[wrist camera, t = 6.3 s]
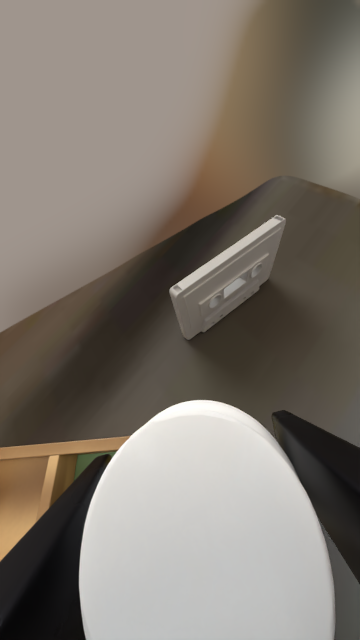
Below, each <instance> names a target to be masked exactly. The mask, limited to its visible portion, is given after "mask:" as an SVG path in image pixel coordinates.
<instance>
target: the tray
mask: <svg viewBox="0 0 360 640" xmlns="http://www.w3.org/2000/svg"><path fill="white" fill-rule="evenodd" d="M130 437H131V436H126V437H115V438H104V439H93V440H81V441H70V442H59V443H48V444H37V445H26V446H15V447H4V448H0V561H1V560H2V559H3V558H4V557H5V556H6V555H7V553H8V552H9V551H10V550H11V549H12V548H13V547H14V546H15V545H16V544H17V543H18V541H19V540H20V539H21V538H22V537H23V536H24V535H25V534H26V533H27V532H28V531H29V529H30V528H31V527H32V526H33V525H34V524H35V523H36V522H37V521H38V520H39V519H40V517H41V516H42V515H43V514H44V513H45V512H46V511H47V510H48V509H49V508H50V507H51V506H52V504H53V503H54V502H55V501H56V500H57V499H58V498H59V497H60V496H61V495H62V494H63V492H64V491H65V490H66V489H67V488H68V487H69V486H70V485H71V484H72V483H73V482H74V480H75V479H76V478H77V477H78V476H79V475H80V474H81V473H82V472H83V471H84V470H85V468H86V467H87V466H88V465H89V464H90V463H91V462H92V461H93V460H94V459H95V458H96V457H97V456H100V455H104V454H110V455H111V457H112V458H113V456H114V455H115V454H116V452H117V451H118V450H119V448H120V447H121V446H122V445H123V444H124V443H125V442H126V441H127V440H128V439H129V438H130Z"/></svg>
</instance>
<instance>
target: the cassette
mask: <svg viewBox="0 0 360 640" xmlns="http://www.w3.org/2000/svg"><path fill="white" fill-rule="evenodd" d="M285 223H286V219H285V218H282V217H280V216H278V215H276V216H275V217H273V218H272V219H270V220H269V221H267V222H266V223H265V224H263V225H262V226H260V227H259V228H257V229H256V230H254V231H253V232H251V233H250V234H249V235H247V236H246V237H244V238H243V239H241V240H240V241H238V242H237V243H235V244H234V245H233V246H231V247H230V248H228V249H227V250H225V251H224V252H222V253H221V254H219V255H218V256H217V257H215V258H214V259H212V260H211V261H209V262H208V263H206V264H205V265H203V266H202V267H201V268H199V269H198V270H196V271H195V272H193V273H192V274H190V275H189V276H187V277H186V278H185V279H183V280H182V281H180V282H179V283H177V284H176V285H174V286H173V287H171V289H170V296H171V299H172V302H173V305H174V309H175V312H176V315H177V318H178V322H179V325H180V328H181V331H182V334H183V336H184V338H185V339H187V340H190V339H191V338H192V337H194V336H195V335H196V334H198V333H199V332H201V331H202V332H205V331H207V330H208V329H209V328H210V327H212V326H213V325H214V324H216V323H217V322H218V321H219V320H221V319H222V318H223V317H225V316H226V315H227V314H228V313H230V312H231V311H232V310H234V309H235V308H236V307H238V306H239V305H240V304H241V303H243V302H244V301H245V300H247V299H248V298H249V297H250V296H252V295H253V294H254V293H256V292H257V291H258V290H259V286H260V285H261V284H263V283H264V282H265V281H266V280H268V278H269V276H270V272H271V269H272V266H273V262H274V259H275V256H276V252H277V249H278V246H279V243H280V239H281V236H282V233H283V229H284V226H285Z"/></svg>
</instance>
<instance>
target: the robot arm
mask: <svg viewBox="0 0 360 640" xmlns="http://www.w3.org/2000/svg"><path fill="white" fill-rule="evenodd" d="M272 421H273V427H274V432H275V436H276V439H277V442H278V444H279V445H280V446H281V448H282V449H283V451H284V452H285V453H286V455H287V456H288V458H289V460H290V462H291V463H292V465H293V467H294V469H295V471H296V473H297V475H298V478H299V480H300V482H301V484H302V486H303V487H304V489H305V491H306V492H307V495H308V497H309V499H310V501H311V503H312V506H313V508H314V510H315V512H316V515H317V516H318V518H319V519H320V521H321V523H322V524H323V526H324V527H325V529H326V531H327V532H328V534H329V535H330V537H331V539H332V540H333V542H334V543H335V545H336V547H337V548H338V550H339V552H340V553H341V555H342V556H343V558H344V560H345V561H346V563H347V564H348V566H349V568H350V569H351V571H352V572H353V574H354V576H355V577H356V579H357V580H358V582H359V584H360V448H359V447H357V446H355V445H353V444H351V443H349V442H347V441H345V440H343V439H341V438H339V437H337V436H335V435H333V434H331V433H329V432H327V431H325V430H323V429H321V428H319V427H317V426H315V425H313V424H311V423H309V422H307V421H305V420H303V419H301V418H299V417H297V416H295V415H293V414H291V413H289V412H287V411H285V410H281V411H277V412H274V413H272ZM111 459H112V457H111V455H110V454H104V455H100V456H97V457H96V458H95V459H94V460H93V461H92V462H91V463H90V464H89V465H88V466H87V467H86V468H85V470H84V471H83V472H82V473H81V474H80V475H79V476H78V477H77V478H76V479H75V480H74V482H73V483H72V484H71V485H70V486H69V487H68V488H67V489H66V490H65V491H64V492H63V494H62V495H61V496H60V497H59V498H58V499H57V500H56V501H55V502H54V503H53V504H52V506H51V507H50V508H49V509H48V510H47V511H46V512H45V513H44V514H43V515H42V516H41V517H40V519H39V520H38V521H37V522H36V523H35V524H34V525H33V526H32V527H31V528H30V529H29V531H28V532H27V533H26V534H25V535H24V536H23V537H22V538H21V539H20V540H19V541H18V543H17V544H16V545H15V546H14V547H13V548H12V549H11V550H10V551H9V552H8V553H7V555H6V556H5V557H4V558H3V559H2V560H1V561H0V640H86V637H85V633H84V627H83V620H82V613H81V604H80V592H79V568H80V553H81V545H82V538H83V531H84V525H85V521H86V517H87V513H88V510H89V506H90V503H91V500H92V497H93V495H94V493H95V490H96V488H97V485H98V483H99V481H100V479H101V476H102V474H103V473H104V471H105V469H106V467H107V465H108V464H109V462H110V461H111Z"/></svg>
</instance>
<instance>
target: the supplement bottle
mask: <svg viewBox="0 0 360 640" xmlns="http://www.w3.org/2000/svg"><path fill="white" fill-rule="evenodd" d="M79 592H80V604H81V613H82V620H83V627H84V633H85V637H86V640H334V638H335V624H336V608H335V592H334V581H333V575H332V569H331V563H330V558H329V554H328V549H327V545H326V541H325V538H324V535H323V532H322V529H321V526H320V523H319V520H318V518H317V515H316V512H315V510H314V508H313V506H312V503H311V501H310V499H309V497H308V495H307V492H306V491H305V489H304V487H303V486H302V484H301V482H300V480H299V478H298V475H297V473H296V471H295V469H294V467H293V465H292V463H291V462H290V460H289V458H288V456H287V455H286V453H285V452H284V451H283V449H282V448H281V446H280V445H279V444H278V442H277V441H276V440H275V438H274V437H273V436H272V435H271V434H270V433H269V432H268V431H267V430H266V429H265V428H264V427H263V426H262V425H261V424H260V423H259V422H258V421H256V420H255V419H254V418H252V417H251V416H249V415H248V414H246V413H244V412H243V411H241V410H239V409H237V408H235V407H233V406H230V405H227V404H224V403H221V402H216V401H210V400H195V401H188V402H183V403H179V404H176V405H174V406H171V407H169V408H167V409H165V410H164V411H162V412H160V413H159V414H157V415H156V416H155V417H153V418H152V419H151V420H150V421H149V422H147V423H146V424H145V425H144V426H143V427H141V428H140V429H139V430H137V431H136V432H135V433H134V434H133V435H132V436H131V437H130V438H129V439H128V440H127V441H126V442H125V443H124V444H123V445H122V446H121V447H120V448H119V450H118V451H117V452H116V454H115V455H114V456H113V458H112V459H111V461H110V462H109V464H108V465H107V467H106V469H105V471H104V473H103V474H102V476H101V479H100V481H99V483H98V485H97V488H96V490H95V493H94V495H93V497H92V500H91V503H90V506H89V510H88V513H87V517H86V521H85V525H84V531H83V538H82V545H81V553H80V568H79Z"/></svg>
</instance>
